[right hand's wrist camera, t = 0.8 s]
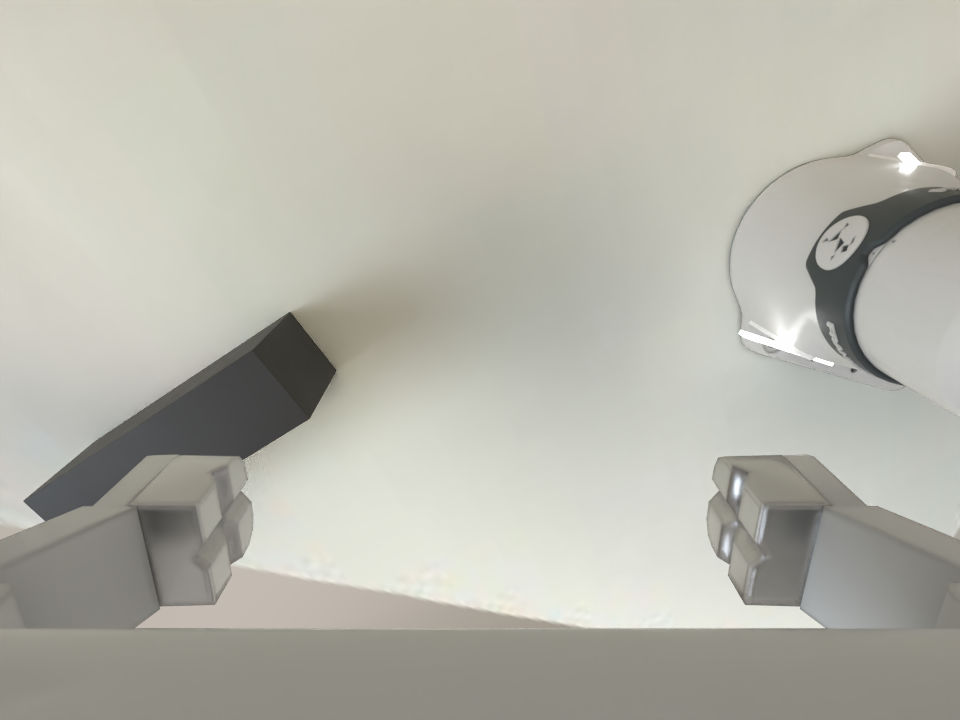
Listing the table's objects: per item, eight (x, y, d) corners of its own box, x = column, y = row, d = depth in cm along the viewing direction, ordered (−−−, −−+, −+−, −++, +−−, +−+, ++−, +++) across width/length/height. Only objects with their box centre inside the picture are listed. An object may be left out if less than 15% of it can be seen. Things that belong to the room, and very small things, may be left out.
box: (290, 311, 49) (252, 349, 41) (336, 370, 51) (309, 418, 43) (94, 442, 54) (22, 501, 45) (144, 491, 55) (84, 557, 47)
